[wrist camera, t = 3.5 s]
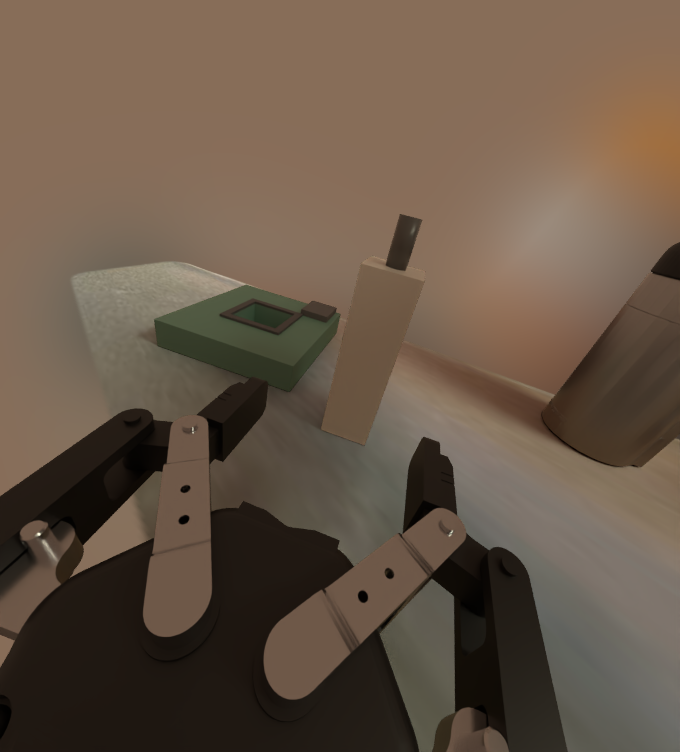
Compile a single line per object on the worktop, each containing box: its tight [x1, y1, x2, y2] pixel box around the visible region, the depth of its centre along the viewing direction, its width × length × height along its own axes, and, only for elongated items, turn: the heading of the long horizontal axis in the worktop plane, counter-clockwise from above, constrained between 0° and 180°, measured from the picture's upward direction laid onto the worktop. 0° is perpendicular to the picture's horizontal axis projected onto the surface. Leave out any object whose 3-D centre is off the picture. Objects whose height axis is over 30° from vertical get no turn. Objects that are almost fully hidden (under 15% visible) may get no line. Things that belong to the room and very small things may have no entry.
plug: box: [321, 214, 425, 446], centre depth 22 cm, size 4×4×17 cm
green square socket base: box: [154, 285, 340, 392], centre depth 35 cm, size 15×17×4 cm
